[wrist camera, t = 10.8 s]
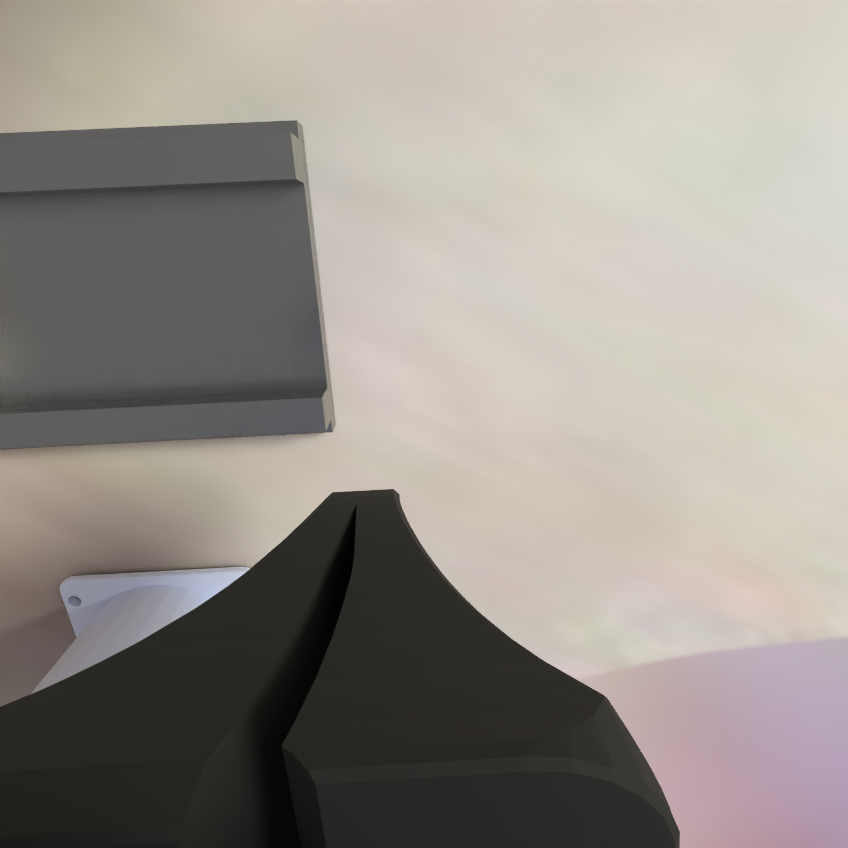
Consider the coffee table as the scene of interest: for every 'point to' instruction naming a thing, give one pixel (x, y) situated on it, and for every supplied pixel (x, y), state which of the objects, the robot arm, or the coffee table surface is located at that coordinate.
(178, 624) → the robot arm
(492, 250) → the coffee table surface
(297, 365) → the chute
